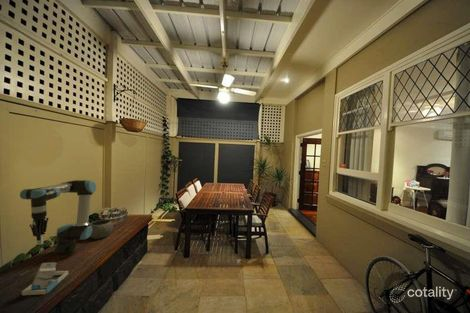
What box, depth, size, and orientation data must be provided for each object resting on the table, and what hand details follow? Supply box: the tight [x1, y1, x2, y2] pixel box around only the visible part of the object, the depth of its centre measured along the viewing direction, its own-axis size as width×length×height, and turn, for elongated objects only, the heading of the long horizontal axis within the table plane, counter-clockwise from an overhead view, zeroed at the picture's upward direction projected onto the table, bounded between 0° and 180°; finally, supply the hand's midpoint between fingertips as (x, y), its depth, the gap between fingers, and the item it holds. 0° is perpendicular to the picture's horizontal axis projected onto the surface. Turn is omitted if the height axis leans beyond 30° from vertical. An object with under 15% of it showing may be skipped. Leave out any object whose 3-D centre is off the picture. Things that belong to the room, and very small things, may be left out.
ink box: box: [31, 262, 57, 290], centre depth 131 cm, size 9×5×15 cm, turn 137°
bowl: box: [89, 219, 114, 240], centre depth 210 cm, size 23×23×15 cm
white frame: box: [21, 270, 69, 296], centre depth 135 cm, size 20×14×4 cm
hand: (40, 244), depth 137 cm, fingers closed
